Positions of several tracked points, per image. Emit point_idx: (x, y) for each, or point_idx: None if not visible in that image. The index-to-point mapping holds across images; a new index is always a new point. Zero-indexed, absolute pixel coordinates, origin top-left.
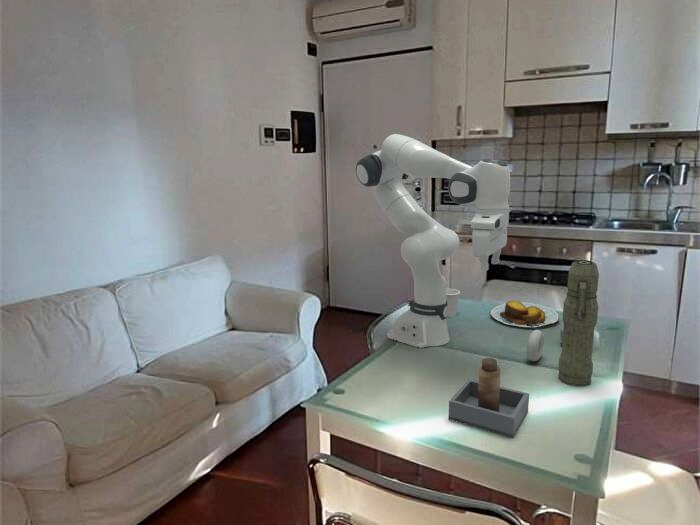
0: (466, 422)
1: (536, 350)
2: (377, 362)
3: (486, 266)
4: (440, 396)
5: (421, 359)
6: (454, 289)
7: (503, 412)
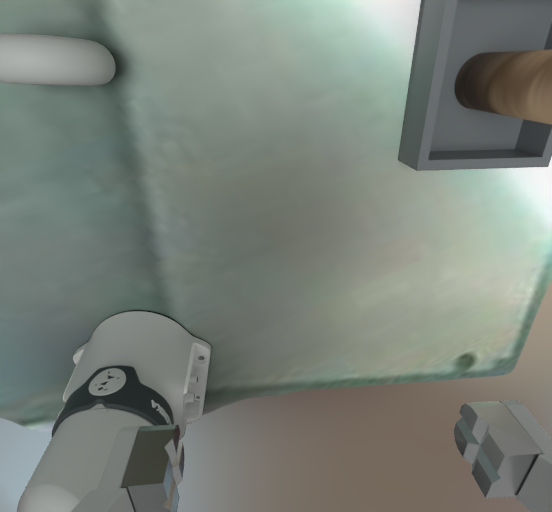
0: None
1: (97, 43)
2: (325, 371)
3: (546, 442)
4: (422, 210)
5: (265, 316)
6: None
7: (469, 45)
